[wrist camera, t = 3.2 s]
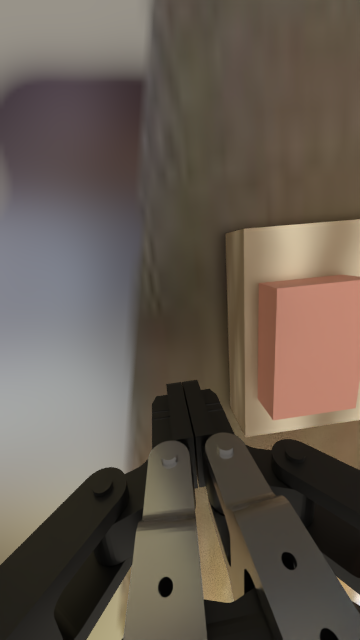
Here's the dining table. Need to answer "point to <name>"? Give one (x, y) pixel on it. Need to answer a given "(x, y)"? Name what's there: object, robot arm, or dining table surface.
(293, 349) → the tile
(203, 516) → the dining table surface
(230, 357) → the board
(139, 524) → the robot arm
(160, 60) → the dining table surface
